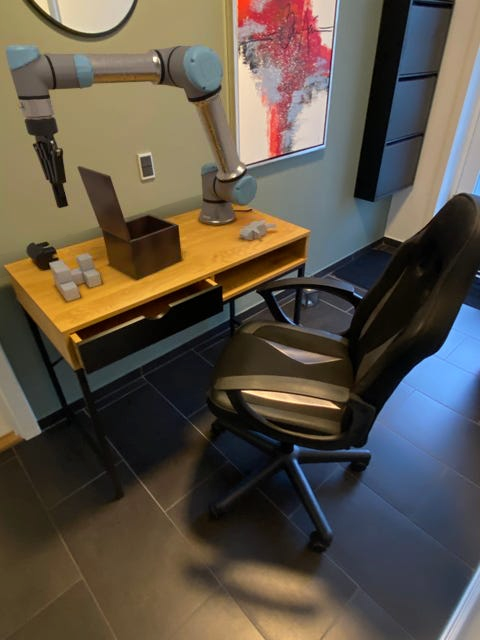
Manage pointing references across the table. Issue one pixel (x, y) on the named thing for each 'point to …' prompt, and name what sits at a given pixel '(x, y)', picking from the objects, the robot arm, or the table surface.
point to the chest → (144, 246)
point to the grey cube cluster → (75, 276)
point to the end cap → (42, 254)
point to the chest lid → (104, 202)
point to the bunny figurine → (255, 230)
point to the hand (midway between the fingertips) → (62, 206)
